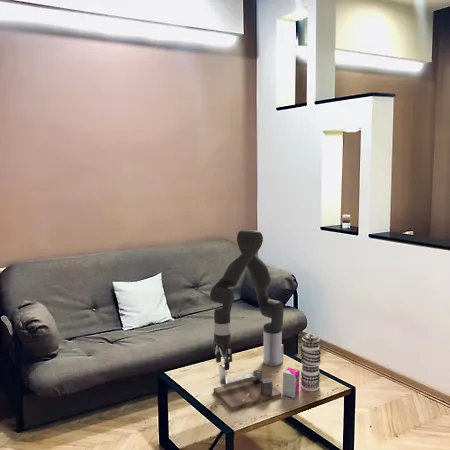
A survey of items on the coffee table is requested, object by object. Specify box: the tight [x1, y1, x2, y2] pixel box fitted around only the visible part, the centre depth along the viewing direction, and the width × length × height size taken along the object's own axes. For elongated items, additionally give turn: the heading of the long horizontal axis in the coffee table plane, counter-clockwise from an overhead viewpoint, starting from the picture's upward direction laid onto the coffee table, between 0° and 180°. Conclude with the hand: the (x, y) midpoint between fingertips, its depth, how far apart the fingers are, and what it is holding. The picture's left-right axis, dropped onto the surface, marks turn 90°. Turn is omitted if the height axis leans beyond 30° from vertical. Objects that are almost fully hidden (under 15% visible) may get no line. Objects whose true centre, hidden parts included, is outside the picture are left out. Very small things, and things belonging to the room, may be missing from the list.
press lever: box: [218, 363, 264, 388], centre depth 227 cm, size 22×4×12 cm, turn 116°
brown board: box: [213, 377, 283, 412], centre depth 223 cm, size 25×18×8 cm
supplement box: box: [282, 367, 301, 399], centre depth 222 cm, size 6×6×12 cm
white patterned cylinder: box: [300, 333, 322, 392], centre depth 228 cm, size 9×9×25 cm
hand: (222, 365), depth 222 cm, fingers open, 8 cm apart
